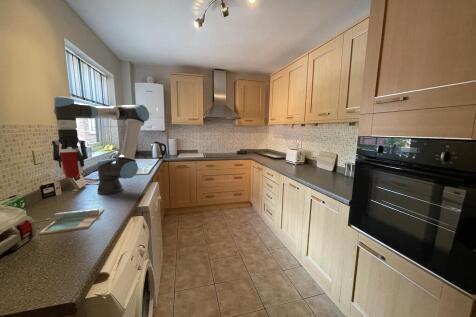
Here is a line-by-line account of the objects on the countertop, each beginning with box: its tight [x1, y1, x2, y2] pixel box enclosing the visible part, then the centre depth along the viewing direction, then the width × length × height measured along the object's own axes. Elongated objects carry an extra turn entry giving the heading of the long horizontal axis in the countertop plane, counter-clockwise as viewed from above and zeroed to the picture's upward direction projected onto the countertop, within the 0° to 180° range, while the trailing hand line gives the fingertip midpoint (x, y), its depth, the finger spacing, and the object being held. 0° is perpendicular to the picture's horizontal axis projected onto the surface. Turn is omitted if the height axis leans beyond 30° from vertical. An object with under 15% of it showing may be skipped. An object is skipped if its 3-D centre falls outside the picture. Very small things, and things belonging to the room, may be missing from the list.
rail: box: [54, 208, 100, 221], centre depth 100 cm, size 2×18×3 cm, turn 106°
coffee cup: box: [59, 147, 81, 179], centre depth 103 cm, size 8×8×15 cm
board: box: [38, 209, 105, 235], centre depth 97 cm, size 20×18×1 cm
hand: (72, 173), depth 104 cm, fingers closed on coffee cup, 7 cm apart
